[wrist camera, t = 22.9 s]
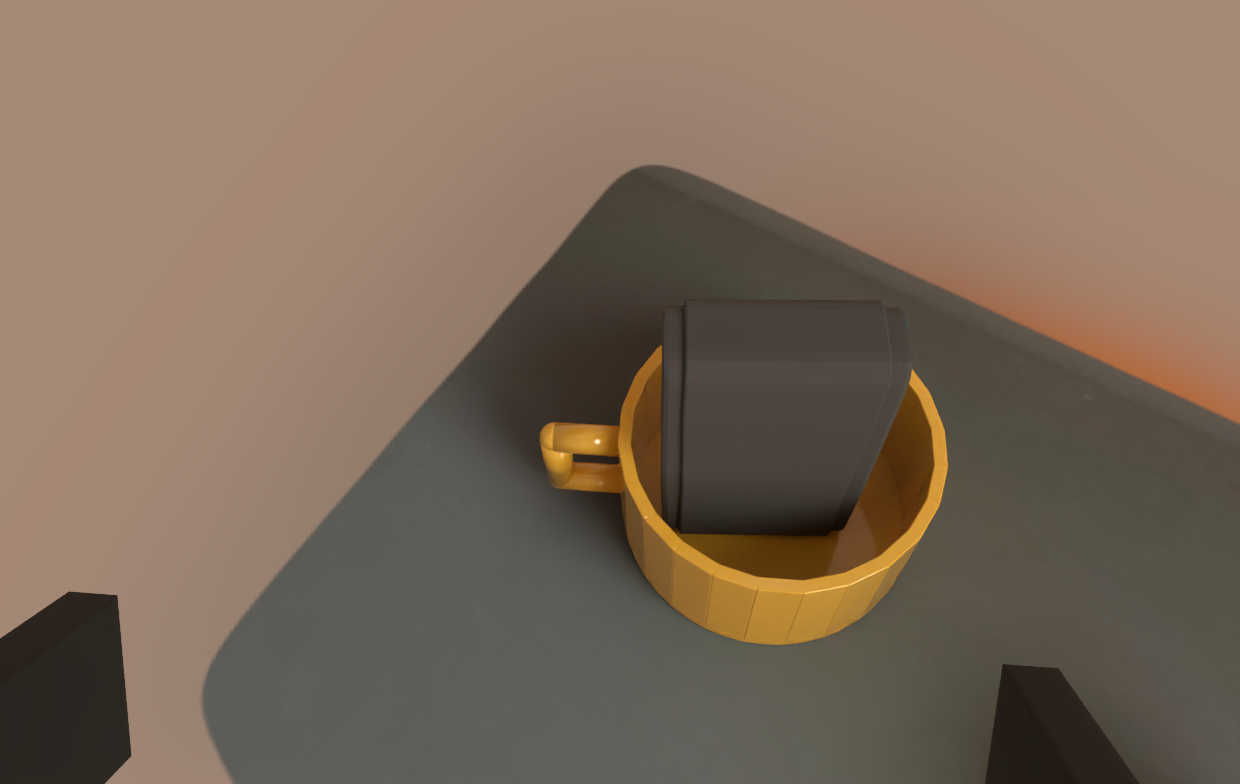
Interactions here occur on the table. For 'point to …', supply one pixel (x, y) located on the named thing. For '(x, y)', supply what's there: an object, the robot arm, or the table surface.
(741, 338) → the card reader
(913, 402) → the mug
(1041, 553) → the table surface
